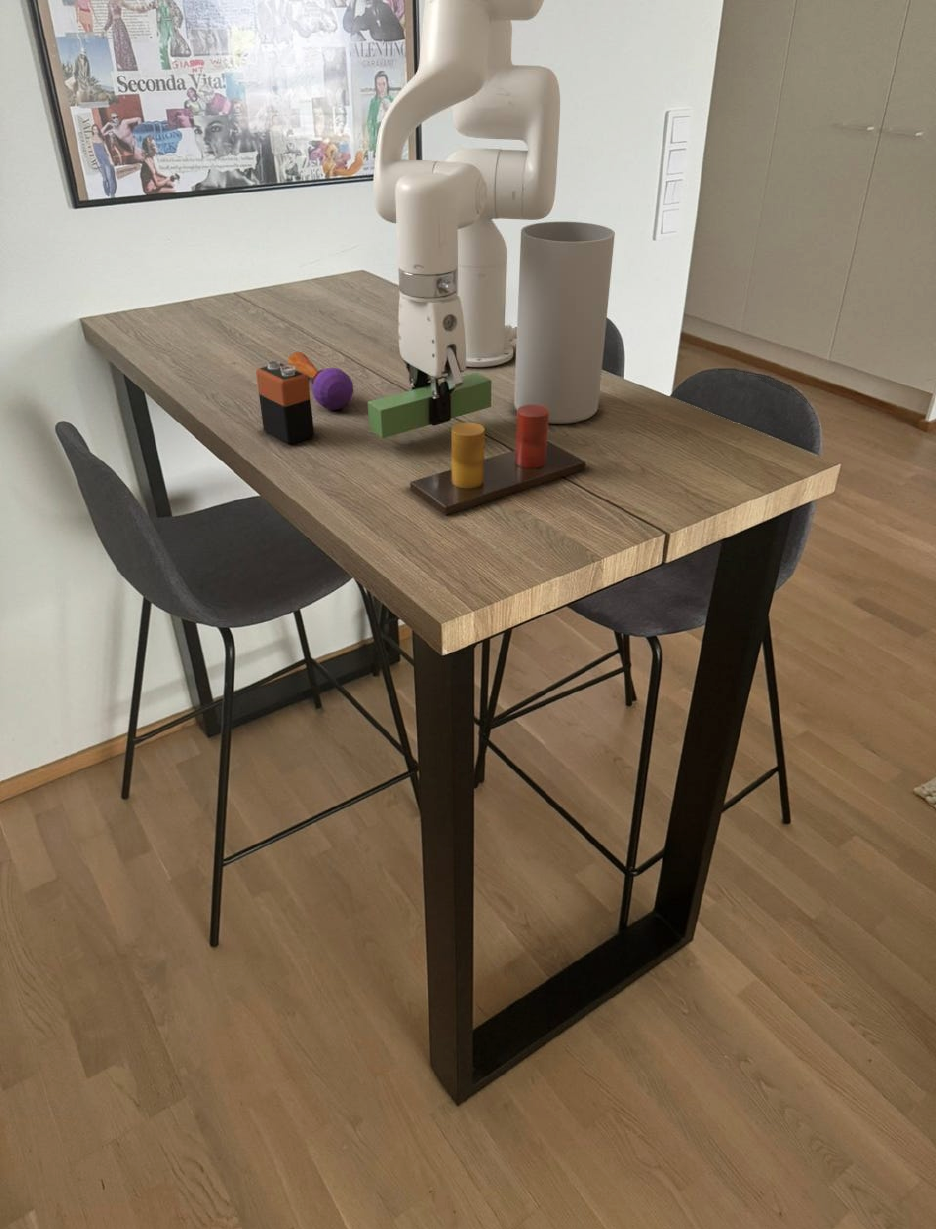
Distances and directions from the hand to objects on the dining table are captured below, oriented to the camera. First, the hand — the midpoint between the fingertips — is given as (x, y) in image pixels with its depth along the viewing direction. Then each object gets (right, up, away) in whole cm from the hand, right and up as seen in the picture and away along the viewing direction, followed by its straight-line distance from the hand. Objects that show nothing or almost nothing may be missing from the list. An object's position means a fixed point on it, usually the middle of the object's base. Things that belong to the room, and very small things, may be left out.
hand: (431, 416), depth 124 cm
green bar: (0, 0, 0) cm, 0 cm away
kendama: (-18, +7, +15) cm, 24 cm away
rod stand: (+9, -10, -10) cm, 17 cm away
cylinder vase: (+18, +3, +10) cm, 21 cm away
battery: (-20, -2, +2) cm, 20 cm away
